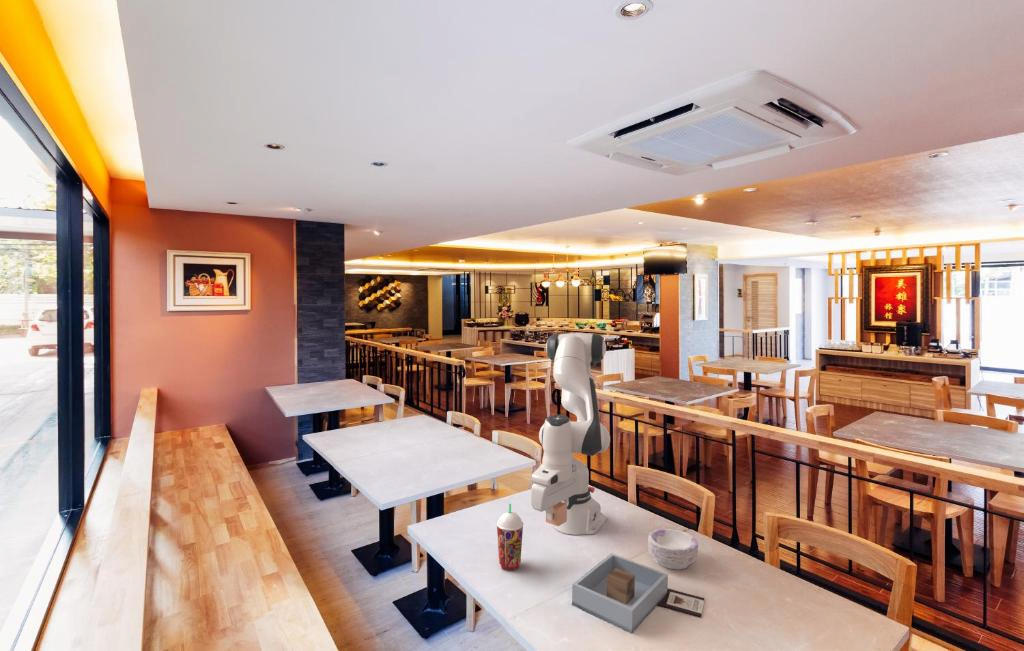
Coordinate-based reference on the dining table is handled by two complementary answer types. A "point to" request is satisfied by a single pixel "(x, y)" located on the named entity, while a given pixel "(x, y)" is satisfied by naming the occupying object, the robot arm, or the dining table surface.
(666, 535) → the paper bowls
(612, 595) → the walnut block
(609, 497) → the dining table surface
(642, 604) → the tote
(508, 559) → the smoothie
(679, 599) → the chocolate bar
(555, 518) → the terracotta box
